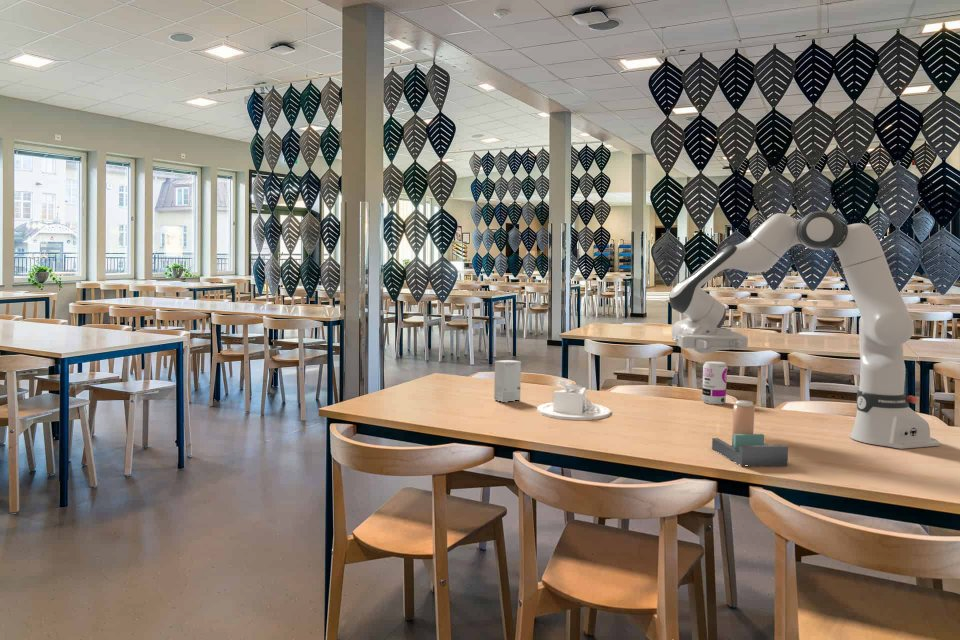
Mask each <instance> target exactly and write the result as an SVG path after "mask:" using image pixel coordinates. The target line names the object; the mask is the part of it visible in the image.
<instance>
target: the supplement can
mask: <svg viewBox="0 0 960 640" xmlns="http://www.w3.org/2000/svg"><path fill="white" fill-rule="evenodd" d="M727 373H728V366H727V363H726V362H724V361H715V360H710V361H708V360H707V361H705V362H704V364H703V366H702V389H701V391H702V394H701V400H702V402H703V403H704V402H705V403H704V404H707V403H708V404H707V405H714V404H719V405H724V404H725V403H726V401H727V399H726V398H727V379H728V378H727V377H728V375H727ZM719 405H718V406H719Z"/></svg>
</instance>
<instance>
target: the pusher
mask: <svg viewBox="0 0 960 640" xmlns="http://www.w3.org/2000/svg"><path fill="white" fill-rule="evenodd" d="M764 443H765V434H764V433H753V434H734V435H733V447H735V448H736V449H738V450H739V447H740V446H747V445H764Z"/></svg>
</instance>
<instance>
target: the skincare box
mask: <svg viewBox="0 0 960 640" xmlns="http://www.w3.org/2000/svg"><path fill="white" fill-rule="evenodd" d="M521 370H522V361H521V360H515V359H513V360H512V359H509V360H507V359H506V360H503V359H501V360H494V387H493V388H494V390H493V391H494V393H493V394H494V395H493V400H494V399H495V400H494V401H496V400H498V401H497V402H499V401H501V402H500V403H502V402H505V403H509V402H508V401H513V402H516V401H515V400H520V401H521V381H522V380H521V378H522V375H521V373H522V371H521Z"/></svg>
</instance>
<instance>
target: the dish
mask: <svg viewBox="0 0 960 640" xmlns="http://www.w3.org/2000/svg"><path fill="white" fill-rule="evenodd" d="M558 383H559V385H560V387H562V388H563V389H560V390H553V391H552V392H553V393H552V402H546V403H542V404H540V405H537V407H536V409H537V410H536V412H537V413H538V414H539V413H540V414H539V415H541V416H543V415H544V416H545V417H547V416H548V417H547V418H552V419H559V420H565V419H566V420H567V421H591V420H592V419H595V420H600V419H601V418H602V419H605V418H608V417H609V416H611V413H612V412H611V409H610V408H608V407H606V406H604V405H600V404H596V403H593V402H592V400H591V399H588V398H587V397H586V396H587V395H586V394H587V392H586V391H587V390H586V389H587V387H582V386H581V385H579V384H576V383H568V384H567V382H566V381H565V380H562V379H559V380H558ZM566 420H565V421H566Z"/></svg>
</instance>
